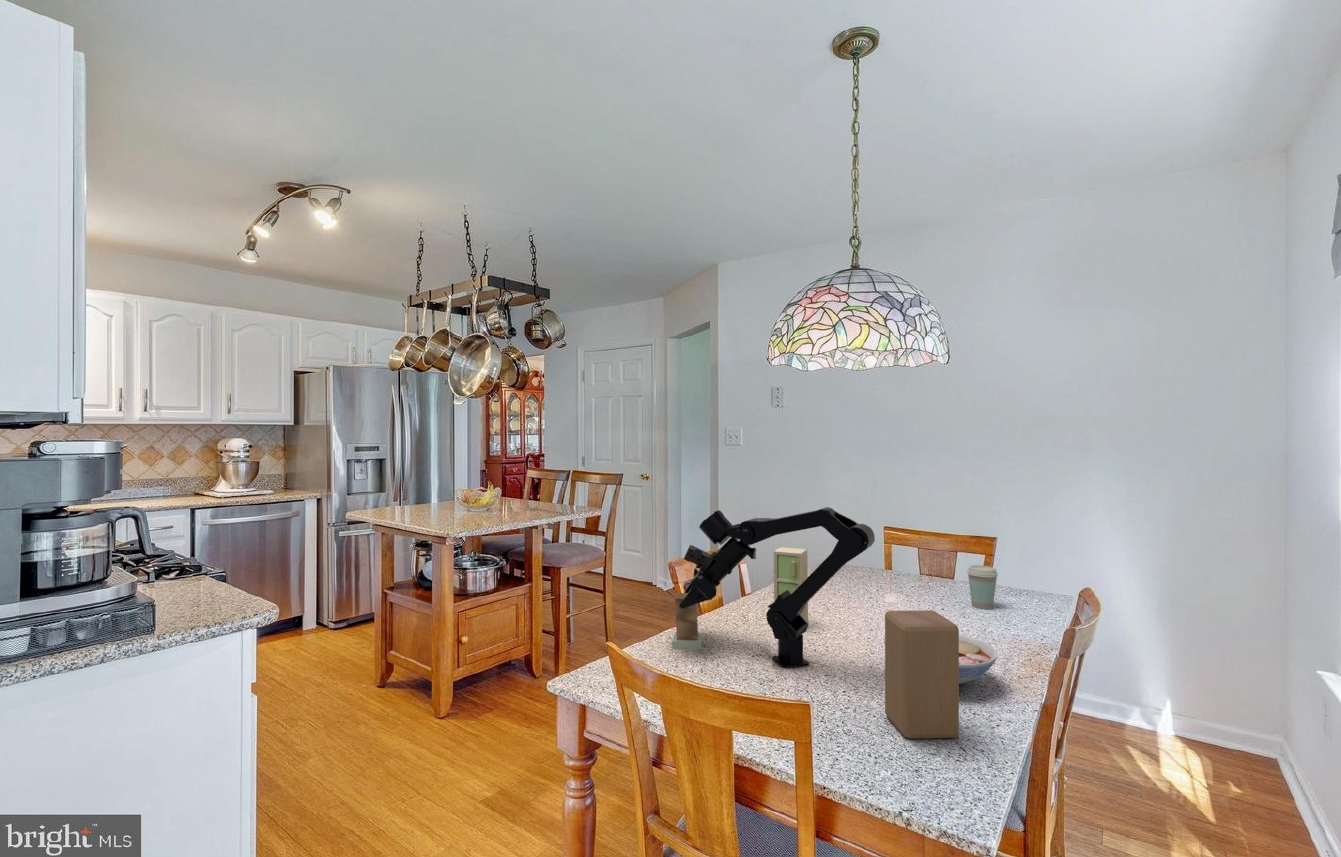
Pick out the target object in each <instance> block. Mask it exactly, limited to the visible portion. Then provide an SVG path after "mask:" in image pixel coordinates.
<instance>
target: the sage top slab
mask: <svg viewBox="0 0 1341 857" xmlns="http://www.w3.org/2000/svg"><path fill="white" fill-rule="evenodd" d="M703 644H704V632H698V639H696V640H677V632H676V631H675V632H674V634H673V638H672V640H671V649H674V650H691V651H692V650H693V651H695V650H696V651H701V650H702V647H703Z"/></svg>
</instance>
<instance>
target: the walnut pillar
mask: <svg viewBox="0 0 1341 857" xmlns="http://www.w3.org/2000/svg"><path fill="white" fill-rule="evenodd" d="M687 594H688V593H684V592H677V593H676V594H675V598H674V606H675V607H674V608H675V627H676V629H675V630H676V631H675V632H677V640H696V639H698V633H699V624H698V623H699V622H698V603H697V604H694V605H692V606H689V607H686V608H683V609H682V608H681V607H680V606H679V605H680V603H681V602H682V601H683V599H684V598H685V596H686V595H687Z"/></svg>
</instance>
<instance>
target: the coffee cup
mask: <svg viewBox="0 0 1341 857" xmlns="http://www.w3.org/2000/svg"><path fill="white" fill-rule="evenodd" d="M966 572H967V575H968V576H967V577H968V584H969V593H970V602H971V607H973V608H976V609H980V610H992V609H993V608H994V603H995V596H996V594H995V593H996V586H997V578H998V576H999V575H998V572H997V568H995V567H992V566H988V565H978V564H977V565H969V566H968V569H967V570H966Z"/></svg>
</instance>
